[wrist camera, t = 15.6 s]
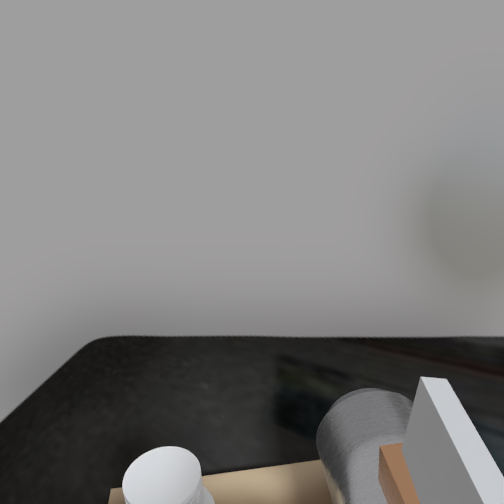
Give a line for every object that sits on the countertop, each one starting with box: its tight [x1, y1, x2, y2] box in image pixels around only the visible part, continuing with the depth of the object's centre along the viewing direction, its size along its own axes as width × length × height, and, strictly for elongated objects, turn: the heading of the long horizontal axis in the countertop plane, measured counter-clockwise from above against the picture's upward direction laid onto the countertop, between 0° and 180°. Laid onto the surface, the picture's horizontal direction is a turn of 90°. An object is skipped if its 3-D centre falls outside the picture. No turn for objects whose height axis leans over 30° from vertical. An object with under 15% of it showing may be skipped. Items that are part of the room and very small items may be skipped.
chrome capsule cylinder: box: [316, 388, 420, 504], centre depth 31 cm, size 18×9×12 cm, turn 6°
